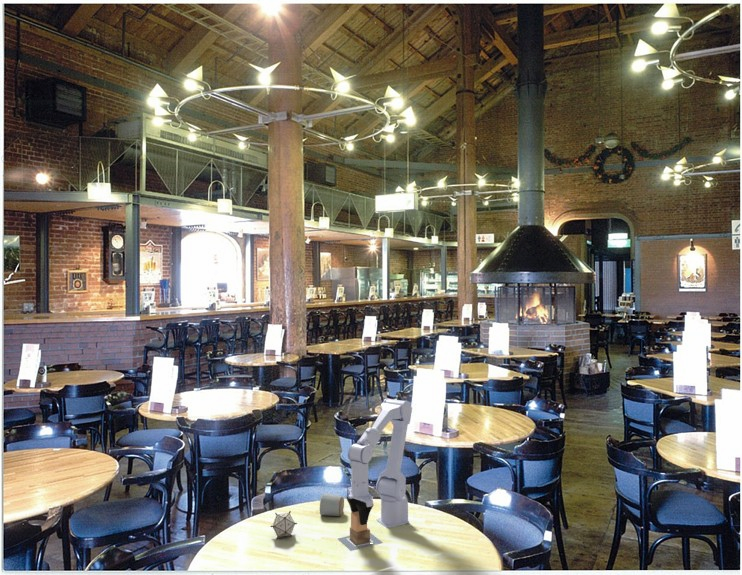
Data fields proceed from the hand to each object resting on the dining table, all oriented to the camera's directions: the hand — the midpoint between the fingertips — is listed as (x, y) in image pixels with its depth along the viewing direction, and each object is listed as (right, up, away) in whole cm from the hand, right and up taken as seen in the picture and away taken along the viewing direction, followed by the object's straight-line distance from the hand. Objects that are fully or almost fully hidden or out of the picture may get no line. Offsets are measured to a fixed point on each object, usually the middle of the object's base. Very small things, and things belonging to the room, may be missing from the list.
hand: (359, 521), depth 183 cm
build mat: (0, -7, 0) cm, 7 cm away
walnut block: (0, -6, 0) cm, 6 cm away
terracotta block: (0, -2, 0) cm, 2 cm away
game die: (-26, -7, +4) cm, 27 cm away
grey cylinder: (-11, -7, +24) cm, 27 cm away
